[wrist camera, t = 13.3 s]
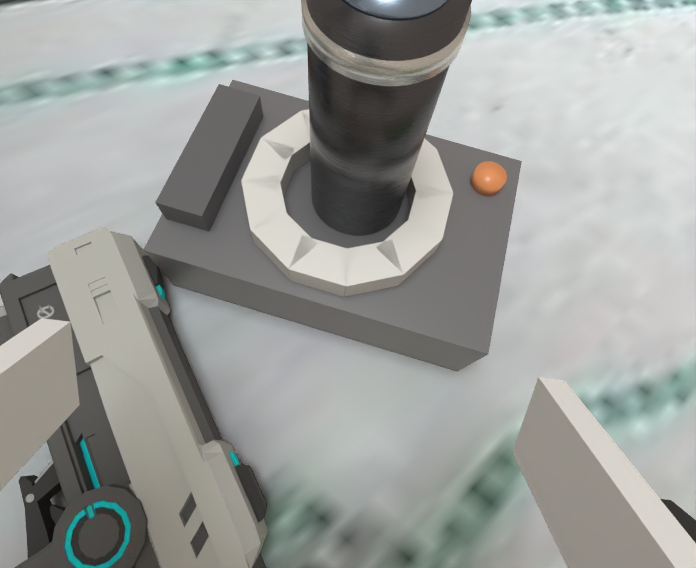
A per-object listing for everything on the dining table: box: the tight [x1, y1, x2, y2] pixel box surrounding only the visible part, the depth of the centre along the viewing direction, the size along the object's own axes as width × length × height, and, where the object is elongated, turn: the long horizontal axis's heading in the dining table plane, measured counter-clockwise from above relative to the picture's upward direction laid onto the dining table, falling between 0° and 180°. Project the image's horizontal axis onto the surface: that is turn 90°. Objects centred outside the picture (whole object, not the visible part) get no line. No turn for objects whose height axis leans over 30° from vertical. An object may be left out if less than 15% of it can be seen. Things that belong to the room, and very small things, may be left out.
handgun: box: [0, 227, 268, 568], centre depth 21 cm, size 4×22×15 cm
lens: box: [301, 0, 472, 236], centre depth 18 cm, size 5×5×12 cm
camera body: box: [144, 80, 522, 371], centre depth 25 cm, size 18×12×7 cm, turn 74°
